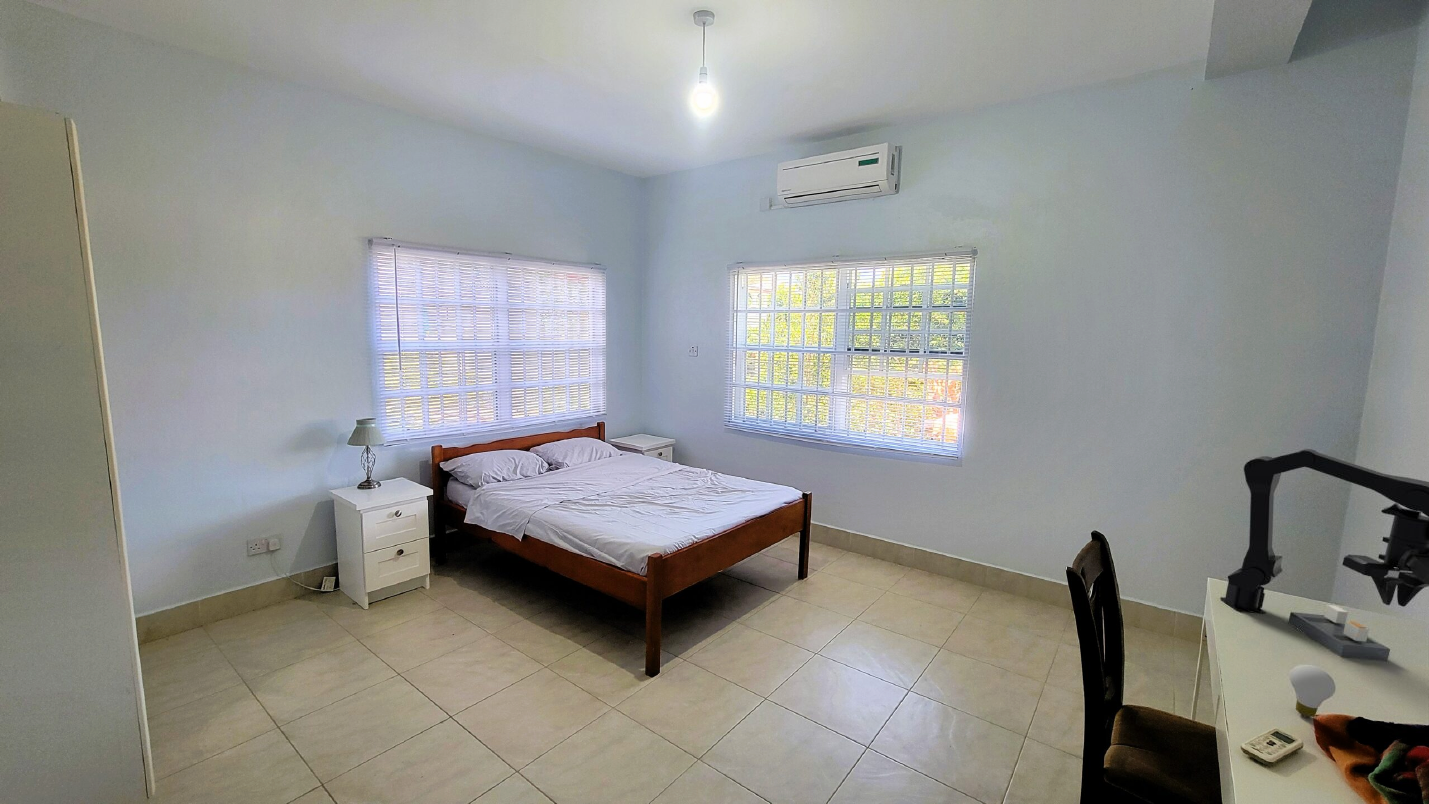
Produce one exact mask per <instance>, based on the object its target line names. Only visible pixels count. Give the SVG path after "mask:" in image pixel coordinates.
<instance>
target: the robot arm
mask: <svg viewBox="0 0 1429 804" xmlns="http://www.w3.org/2000/svg"><path fill="white" fill-rule="evenodd" d="M1301 468H1306V469H1307V468H1308V469H1311V470H1314V471H1317V472H1319V473H1322V474H1326V475H1328V476H1330V477H1333V478H1337V479H1340V480H1343V481H1345V482H1348V483H1352V484H1354V485H1357V486H1360V487H1362V488H1363V487H1364V488H1365V489H1366V488H1367V489H1369V490H1371V491H1374V492H1376V493H1378V494H1380V495H1381V496H1383V497H1385V498H1386V499H1388V500H1389V501H1392V502H1393V504H1392V505H1390V506H1387V507H1384V508H1382V510H1381V511H1380V512H1381V513H1382V514H1385V515H1390V516H1393V520H1392V525H1391V529H1390V532H1389V536H1382V540H1381V541H1382V542H1384V543H1386V544H1387V546H1386V549H1385V554H1382V553H1381V554H1380V553H1379V554H1378V559H1379V560H1381V561H1382V562H1381V561H1379V560H1377V559H1374V558H1372V557H1370V556H1367V555H1361V554H1347V555H1345V556H1344V557H1343V562H1342V566H1344V567H1346V568H1349V569H1350V570H1352V571H1354V572H1356V573H1359V574H1361V575H1363V576H1367V577H1370V578H1371V579H1372V581H1373V583H1374V584H1375V587H1376V590H1377V592H1378V594H1379V598H1381V602H1382V603H1383V604H1384V605H1386V606H1390V605H1391V603H1392V601H1393V599H1394V595H1395V591H1397V593H1396V598H1397V599H1396V600H1397V604H1398V606H1400V607H1406V606H1407V605H1408V604H1409V603H1410V602H1411V601H1412V600H1413V598H1415V597H1416V596H1417V594H1418V593H1419V592H1421V591H1422V590H1423V589H1425V588H1427V587H1429V481H1426V480H1422V479H1417V478H1411V477H1405V476H1399V475H1392V474H1386V473H1382V472H1379V471H1376V470H1373V469H1369V468H1368V467H1364V466H1362V465H1357V464H1355V463H1351V462H1349V461H1347V460H1346V461H1345V460H1342V459H1339V458H1336V457H1333V456H1330V455H1327V454H1324V453H1320V452H1318V451H1316V450H1314V449H1310V448H1303V449H1301V450H1298V451H1295V452H1291V453H1288V454H1284V455H1279V456H1276V457H1273V456H1269V455H1263V456H1262V455H1261V456H1258V457H1255V458H1253V459H1250V460H1248V461H1247V462H1246V463H1245V464H1244V466H1243V473H1244V477H1245V482H1246V485H1247V487H1248V489H1249V493H1250V511H1249V537H1248V539H1249V543H1248V545H1249V546H1248V549H1247V551H1246V554H1245V556H1244V559H1243V562H1242V566H1241V567H1240V568H1238V569H1237V570H1235V571H1233V572H1232V573H1230V574H1228V576H1227V580H1228V582H1227V588H1226V592H1225V597H1223V596H1220V598H1219V599H1220V600H1221V601H1222V602H1224V603H1225V604H1227V605H1229V606H1230V607H1231V608H1232V609H1234V610H1236V611H1238V612H1244V613H1245V612H1247V613H1256V614H1266V611H1265V610H1264V609H1262V608H1263V605H1264V602H1265V601H1264V600H1265V597H1266V596H1265V595H1266V594H1265V593H1266V592H1265V587H1264V586H1266V585H1268V584H1270V583H1272V581H1274V580H1275V579H1276V578H1277V577H1278V576H1279V575H1280V574H1281V573H1283V572H1284V570H1283V569H1282V560H1283V556H1282V555H1276V554H1275V551H1274V549H1273V529H1274V528H1273V526H1274V499H1275V498H1274V496H1275V495H1274V494H1275V492H1276V489H1277V487H1278V485H1279V483H1280V478H1281V475H1282V473H1287V472H1289V471H1293V470H1297V469H1301ZM1401 506H1402V507H1401ZM1403 507H1404V508H1403ZM1422 514H1423V515H1422Z"/></svg>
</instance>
